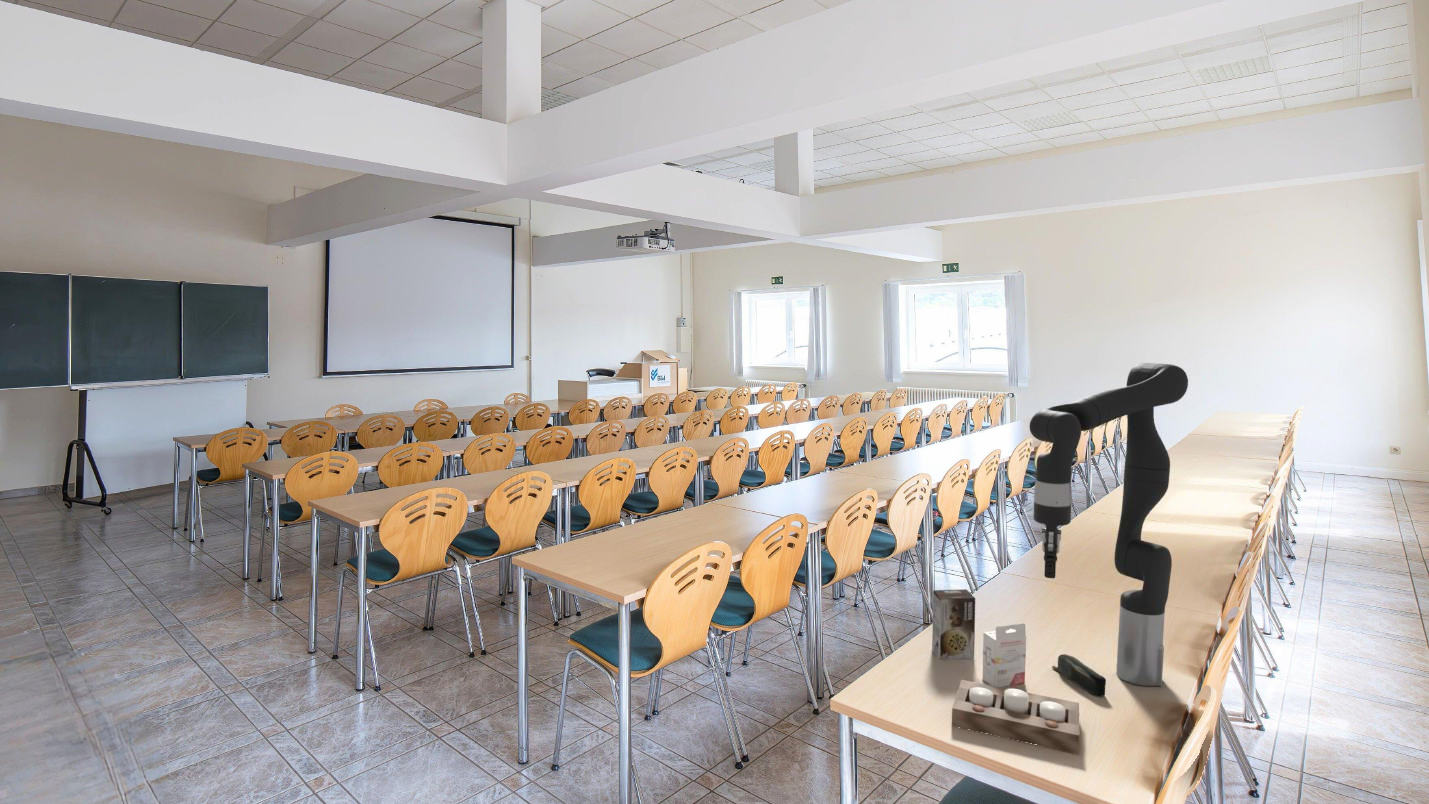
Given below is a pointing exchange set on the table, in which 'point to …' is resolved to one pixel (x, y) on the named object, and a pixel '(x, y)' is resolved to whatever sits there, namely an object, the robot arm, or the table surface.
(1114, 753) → the table surface
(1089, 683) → the dark green stapler
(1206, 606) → the table surface
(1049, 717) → the button inner
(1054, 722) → the button board
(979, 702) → the button outer
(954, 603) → the coffee box
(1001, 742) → the table surface
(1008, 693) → the button middle
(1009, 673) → the ink cartridge box
